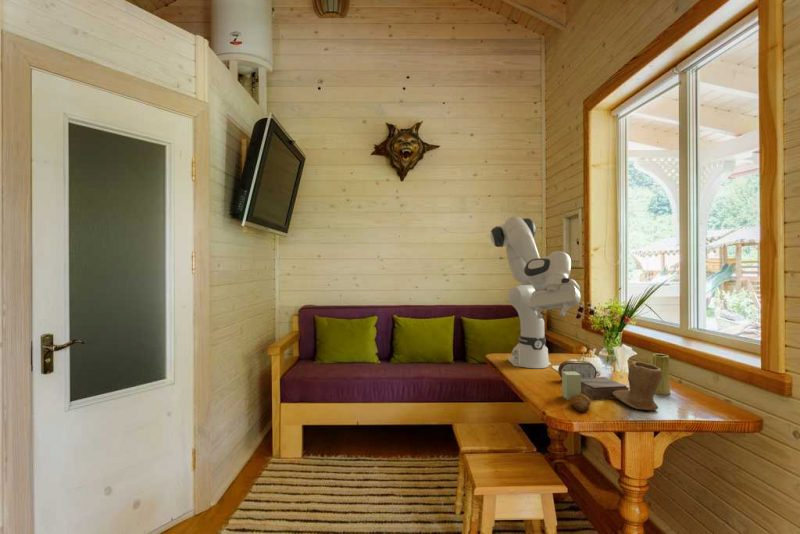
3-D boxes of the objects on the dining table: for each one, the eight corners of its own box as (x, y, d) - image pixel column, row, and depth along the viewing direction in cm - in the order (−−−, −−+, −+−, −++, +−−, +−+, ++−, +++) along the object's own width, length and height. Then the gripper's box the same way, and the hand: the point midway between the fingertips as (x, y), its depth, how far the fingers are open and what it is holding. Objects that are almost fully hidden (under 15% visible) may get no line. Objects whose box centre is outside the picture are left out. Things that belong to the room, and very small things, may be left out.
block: (562, 395, 160) (562, 371, 160) (575, 395, 160) (575, 371, 160) (566, 399, 155) (566, 374, 155) (581, 400, 155) (581, 375, 155)
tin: (594, 381, 181) (595, 360, 181) (597, 383, 178) (597, 362, 178) (557, 380, 182) (557, 360, 182) (559, 382, 179) (559, 361, 179)
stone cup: (669, 413, 141) (669, 367, 141) (632, 412, 142) (632, 367, 141) (644, 399, 156) (644, 357, 156) (611, 398, 157) (611, 357, 157)
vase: (657, 389, 168) (658, 352, 168) (673, 393, 162) (674, 355, 162) (647, 391, 165) (648, 354, 165) (663, 395, 160) (663, 357, 160)
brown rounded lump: (569, 400, 155) (569, 386, 155) (590, 402, 152) (590, 388, 152) (570, 412, 142) (570, 397, 142) (592, 415, 140) (592, 399, 140)
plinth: (572, 388, 170) (572, 378, 170) (604, 386, 172) (604, 376, 172) (593, 399, 156) (593, 388, 156) (628, 397, 158) (628, 386, 158)
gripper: (528, 286, 177) (522, 315, 170) (576, 277, 162) (571, 309, 155) (536, 294, 180) (531, 323, 173) (584, 287, 165) (579, 318, 158)
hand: (550, 316), depth 164 cm, fingers open, 8 cm apart
